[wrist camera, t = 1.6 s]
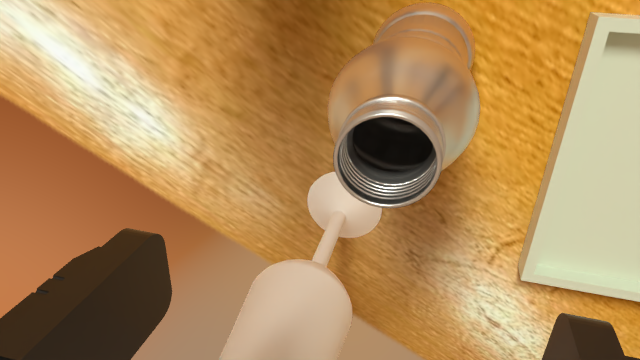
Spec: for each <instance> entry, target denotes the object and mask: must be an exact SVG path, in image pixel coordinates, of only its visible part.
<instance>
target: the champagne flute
mask: <svg viewBox="0 0 640 360" xmlns="http://www.w3.org/2000/svg"><path fill="white" fill-rule="evenodd" d="M307 203H308V209H309V212H310V214H311V216H312V218H313V219H314V221H315V222H316V223H317V224H318V225H319V226H320V227H321V228H322V229H323V230H325V232H324V234H323V236H322V239H321V241H320V243H319V245H318V247H317V250H316V252H315V254H314V256H313V258H312V260H305V259H292V260H285V261H281V262H278V263H275V264H273V265H271V266H269V267H267V268H266V269H265V270H263V271H262V272H261V273H260V274H259V275H258V276H257V277H256V279H255V280H254V282H253V284H252V286H251V288H250V290H249V292H248V295H247V297H246V299H245V301H244V304H243V306H242V308H241V310H240V313H239V315H238V317H237V319H236V322H235V324H234V327H233V329H232V331H231V333H230V336H229V337H228V340H227V342H226V344H225V347H224V349H223V351H222V353H221V356H220V358H219V360H337V358H338V356H339V353H340V350H341V348H342V346H343V343H344V341H345V339H346V336H347V334H348V332H349V329H350V327H351V323H352V304H351V301H350V298H349V295H348V293H347V291H346V289H345V287H344V285H343V284H342V282H341V281H340V280H339V279H338V278H337V276H336V275H335V274H334V273H333V272H332V271H331V270H329V269H328V268H327V264H328V262H329V259H330V257H331V254H332V252H333V250H334V247H335V245H336V242H337V240H338V237H343V238H356V237H360V236H363V235H365V234H367V233H369V232H370V231H372V230H373V229H374V228H375V227H376V225H377V224H378V222H379V220H380V218H381V214H382V208H379V207H375V206H371V205H368V204H366V203H363V202H361V201H359V200H358V199H356V198H355V197H353V196H352V195H351V194H350V193H349V192H347V191H346V190H345V188H344V187H343V186H342V184H341V183H340V181H339V179H338V177H337V175H336V173H335V172H330V173H327V174H325V175H323V176H321V177H319V178H318V179H317V180H316V181H315V182H314V183H313V184H312V186H311V188H310V190H309V193H308V198H307Z"/></svg>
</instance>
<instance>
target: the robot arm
mask: <svg viewBox="0 0 640 360" xmlns="http://www.w3.org/2000/svg"><path fill="white" fill-rule="evenodd" d="M171 296H172V288H171V280H170V274H169V267H168V261H167V254H166V247H165V242H164V239H163V237H162V236H161V235H159V234H155V233H150V232H144V231H140V230H134V229H129V228H127V229H123V230H121V231H120V232H119V233H118V234H116V235H115V236H114V237H113V238H112V239H111V240H109V241H108V242H107V243H106V244H105V245H103V246H102V247H97V248H94V249H93V250H90V251H88V252H86V253H84V254H82V255H80V256H78V257H76V258H74V259H72V260H71V261H70V262H69V263H68V264H66V265H65V266H64V267H63V268H61V269H60V270H59V271H58V272H57V273H55V274H54V276H53V278H52V279H48V280H47V281H46V282H45V283H43V284H42V285H41V286H40V287H38V288H37V291H36V293H31V294H30V295H29V296H27V297H26V298H25V299H24V300H22V301H21V302H20V303H19V304H18V305H16V306H15V307H14V308H13V309H11V310H10V311H9V312H8V313H7V314H5V315H4V316H3V317H2V318H0V360H131V358H132V357H133V356H134V354H135V353H136V352H137V351H138V349H139V348H140V347H141V345H142V344H143V343H144V342H145V340H146V339H147V338H148V337H149V335H150V334H151V333H152V331H153V330H154V329H155V328H156V326H157V325H158V324H159V323H160V321H161V320H162V319H163V317H164V316H165V314H166V312H167V310H168V308H169V305H170V301H171ZM542 360H640V359H638V358H633V357H628V356H625V355H624V353H623V350H622V348H621V345H620V343H619V341H618V338H617V336H616V333H615V331H614V329H613V327H612V325H611V324H610V323H609V322H606V321H601V320H596V319H591V318H586V317H581V316H575V315H570V314H565V313H561V314H560V315H559V316H558V318H557V319H556V322H555V324H554V327H553V330H552V333H551V336H550V338H549V341H548V344H547V347H546V349H545V352H544V355H543V358H542Z"/></svg>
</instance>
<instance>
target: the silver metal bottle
mask: <svg viewBox="0 0 640 360" xmlns="http://www.w3.org/2000/svg"><path fill="white" fill-rule="evenodd" d="M474 57H475V42H474V37H473V34H472V31H471V29H470V27H469V25H468V24H467V22H466V21H465V20H464V19H463V18H462V17H461V16H460V15H459V13H457V12H455V11H454V10H452V9H451V8H449V7H446V6H444V5H441V4H436V3H417V4H413V5H409V6H407V7H404V8H402V9H400V10H398V11H397V12H395V13H394V14H393V15H391V16H390V17H389V18H388V19H387V20H386V21H385V22H384V23H383V24H382V26H381V27H380V29H379V30H378V32H377V34H376V37H375V39H374V41H373V45H370V46H369V47H367V48H366V49H364V50H363V51H361V52H360V53H358V54H357V55H355V56H354V57H353V58H352V59H351V60H350V61H349V62H348V63H347V64H346V65H345V66H344V67H343V68H342V69H341V71H340V73H339V74H338V76H337V77H336V79H335V81H334V83H333V86H332V88H331V91H330V95H329V101H328V122H329V128H330V132H331V136H332V139H333V141H334V143H335V148H334V155H333V161H334V169H335V173H336V175H337V177H338V179H339V181H340V183H341V184H342V186H343V187H344V188H345V190H346V191H347V192H349V193H350V194H351V195H352V196H353V197H355V198H356V199H358V200H359V201H361V202H363V203H366V204H368V205H371V206H375V207H379V208H399V207H403V206H407V205H410V204H412V203H415V202H417V201H419V200H420V199H421V198H423V197H424V196H426V195H427V194H428V193H429V192H430V190H431V189H432V188H433V187H434V185H435V184H436V182H437V180H438V178H439V176H440V173H441V171H442V170H444V169H445V168H446V167H448V166H449V165H450V164H452V163H453V162H454V161H455V160H456V159H457V158H458V157H459V156H460V154H461V153H462V152H463V151H464V150H465V149H466V148H467V146H468V145H469V143H470V141H471V140H472V138H473V136H474V134H475V131H476V128H477V125H478V122H479V114H480V101H479V93H478V90H477V87H476V85H475V82H474V79H473V76H472V74H471V72H470V70H471V68H472V65H473V61H474Z"/></svg>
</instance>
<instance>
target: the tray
mask: <svg viewBox="0 0 640 360" xmlns="http://www.w3.org/2000/svg"><path fill="white" fill-rule="evenodd" d="M518 269H519V274H520V280H522V281H528V282H533V283H539V284H544V285H550V286H555V287H561V288H566V289H572V290H577V291H583V292H588V293H594V294H599V295H605V296H610V297H616V298H621V299H627V300H632V301H638V302H640V15H626V14H610V13H594V12H591V13H590V16H589V20H588V23H587V27H586V30H585V33H584V37H583V40H582V44H581V47H580V51H579V54H578V58H577V61H576V65H575V68H574V72H573V75H572V79H571V82H570V86H569V89H568V93H567V96H566V99H565V103H564V106H563V110H562V113H561V117H560V120H559V124H558V127H557V131H556V134H555V138H554V141H553V145H552V148H551V152H550V155H549V159H548V162H547V165H546V169H545V172H544V176H543V179H542V183H541V186H540V190H539V193H538V197H537V200H536V204H535V207H534V211H533V214H532V218H531V221H530V225H529V228H528V231H527V235H526V238H525V242H524V245H523V249H522V252H521V256H520V259H519V263H518Z"/></svg>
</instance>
